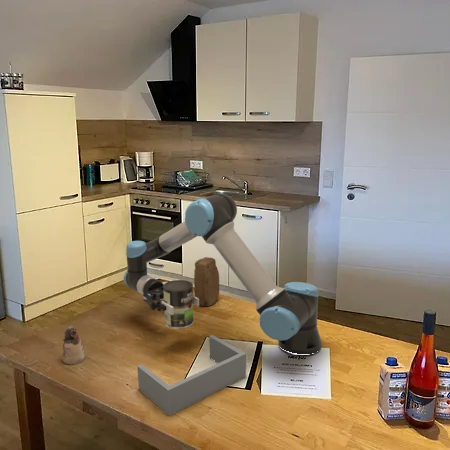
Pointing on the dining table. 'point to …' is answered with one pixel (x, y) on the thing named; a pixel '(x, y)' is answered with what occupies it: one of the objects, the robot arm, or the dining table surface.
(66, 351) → the figurine
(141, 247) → the robot arm
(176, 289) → the coffee can
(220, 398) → the dining table surface
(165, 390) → the grey u-shaped bracket
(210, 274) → the block
